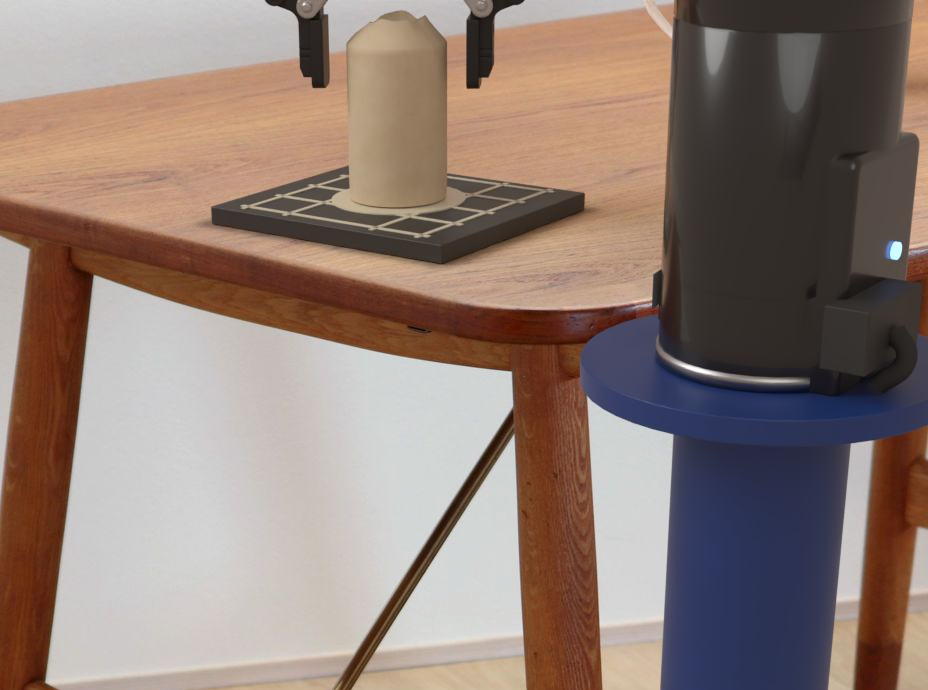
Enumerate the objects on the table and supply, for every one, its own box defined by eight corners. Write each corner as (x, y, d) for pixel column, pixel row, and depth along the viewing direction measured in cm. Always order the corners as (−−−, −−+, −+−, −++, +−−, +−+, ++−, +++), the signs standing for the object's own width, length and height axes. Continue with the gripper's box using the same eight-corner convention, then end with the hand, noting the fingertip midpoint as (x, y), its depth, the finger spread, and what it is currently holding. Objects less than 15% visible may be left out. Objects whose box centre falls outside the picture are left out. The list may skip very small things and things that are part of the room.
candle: (358, 185, 112) (354, 7, 108) (452, 187, 111) (452, 7, 107) (342, 208, 107) (337, 21, 103) (440, 209, 106) (440, 21, 102)
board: (584, 210, 110) (585, 190, 109) (441, 264, 100) (441, 243, 99) (362, 177, 119) (362, 159, 118) (211, 223, 109) (210, 204, 108)
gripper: (244, -228, 97) (258, 99, 104) (528, -236, 95) (523, 99, 102) (270, -233, 104) (282, 75, 111) (536, -240, 102) (530, 74, 109)
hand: (397, 86), depth 106 cm, fingers open, 8 cm apart
